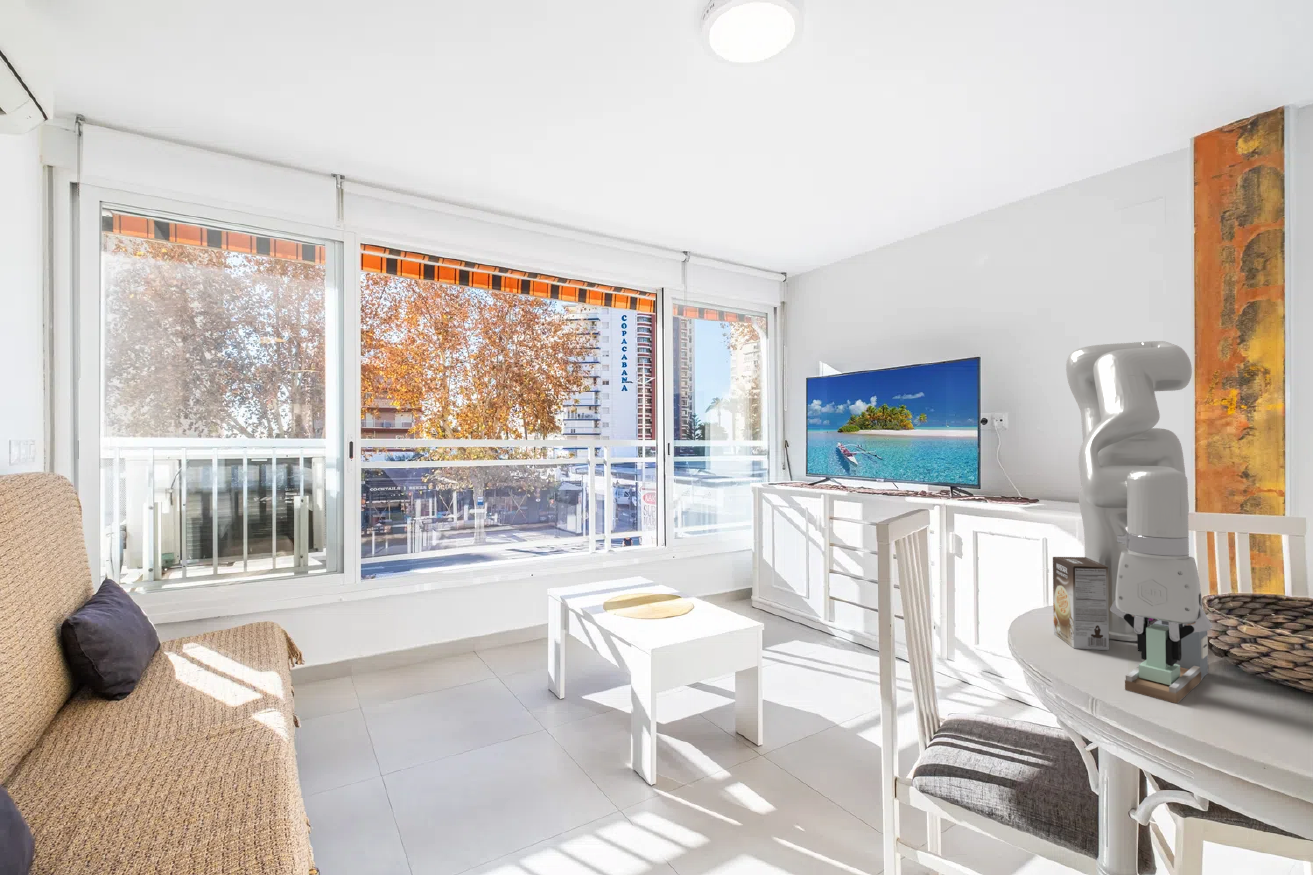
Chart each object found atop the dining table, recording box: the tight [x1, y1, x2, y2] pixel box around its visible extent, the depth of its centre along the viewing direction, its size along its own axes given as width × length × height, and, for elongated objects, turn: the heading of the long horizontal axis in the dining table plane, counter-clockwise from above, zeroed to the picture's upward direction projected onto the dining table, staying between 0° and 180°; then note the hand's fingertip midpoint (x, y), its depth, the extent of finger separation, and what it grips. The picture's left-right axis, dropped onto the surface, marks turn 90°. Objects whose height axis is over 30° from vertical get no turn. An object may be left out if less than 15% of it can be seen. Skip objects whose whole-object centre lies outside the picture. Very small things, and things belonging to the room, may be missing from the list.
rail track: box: [1124, 665, 1202, 705], centre depth 96 cm, size 14×6×2 cm, turn 126°
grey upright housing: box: [1153, 619, 1209, 680], centre depth 102 cm, size 5×6×9 cm
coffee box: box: [1052, 556, 1110, 651], centre depth 117 cm, size 9×6×16 cm
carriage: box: [1138, 623, 1180, 685], centre depth 95 cm, size 5×4×8 cm
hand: (1159, 659), depth 95 cm, fingers closed on carriage, 2 cm apart
